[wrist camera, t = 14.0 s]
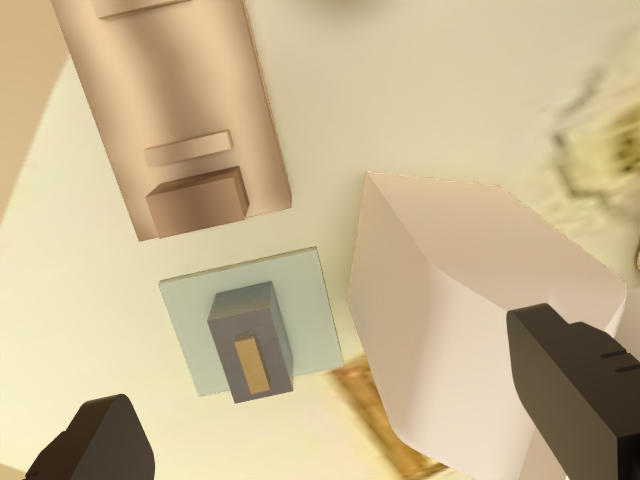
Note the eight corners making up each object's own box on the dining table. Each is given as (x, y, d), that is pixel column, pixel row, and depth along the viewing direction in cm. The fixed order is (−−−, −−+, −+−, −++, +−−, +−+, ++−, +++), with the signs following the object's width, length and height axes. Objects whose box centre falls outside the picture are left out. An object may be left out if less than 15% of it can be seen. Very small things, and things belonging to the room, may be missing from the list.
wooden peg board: (217, -109, 34) (196, -158, 26) (291, 194, 41) (291, 223, 34) (49, -69, 34) (-20, -106, 27) (153, 225, 42) (122, 261, 34)
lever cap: (271, 280, 43) (268, 311, 38) (293, 357, 46) (293, 395, 40) (216, 293, 43) (205, 325, 38) (241, 368, 46) (234, 408, 41)
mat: (315, 246, 43) (316, 249, 42) (342, 361, 47) (343, 365, 46) (160, 280, 43) (158, 284, 43) (200, 391, 47) (199, 396, 47)
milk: (366, 170, 41) (474, 328, 17) (499, 185, 42) (784, 354, 18) (346, 300, 45) (409, 581, 21) (468, 310, 46) (666, 591, 22)
